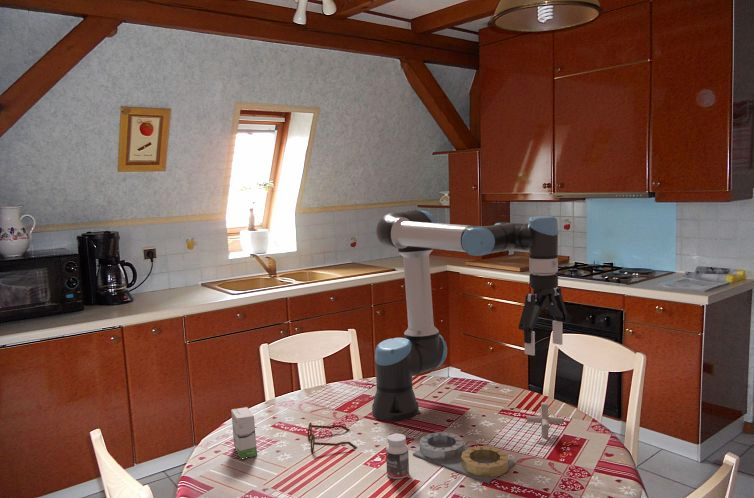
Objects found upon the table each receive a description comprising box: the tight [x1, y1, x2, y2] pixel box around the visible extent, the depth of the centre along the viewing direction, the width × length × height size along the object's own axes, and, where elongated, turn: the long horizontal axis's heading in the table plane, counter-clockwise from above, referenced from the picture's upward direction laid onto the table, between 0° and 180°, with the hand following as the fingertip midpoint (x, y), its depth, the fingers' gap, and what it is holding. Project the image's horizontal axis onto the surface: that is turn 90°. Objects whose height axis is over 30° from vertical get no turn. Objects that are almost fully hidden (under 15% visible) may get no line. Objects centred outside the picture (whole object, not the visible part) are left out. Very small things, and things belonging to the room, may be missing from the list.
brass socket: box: [461, 445, 509, 477], centre depth 153 cm, size 12×12×2 cm
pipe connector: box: [526, 401, 564, 439], centre depth 169 cm, size 10×10×10 cm
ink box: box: [230, 406, 258, 460], centre depth 167 cm, size 9×5×12 cm, turn 26°
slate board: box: [412, 444, 516, 484], centre depth 158 cm, size 24×13×1 cm, turn 46°
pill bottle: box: [385, 433, 410, 480], centre depth 151 cm, size 6×6×10 cm
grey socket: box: [419, 431, 465, 461], centre depth 162 cm, size 12×12×2 cm
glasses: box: [307, 422, 358, 453], centre depth 172 cm, size 13×13×5 cm
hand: (544, 349), depth 163 cm, fingers open, 13 cm apart
